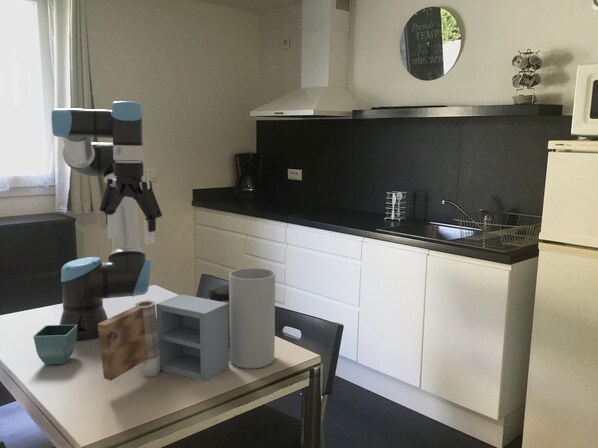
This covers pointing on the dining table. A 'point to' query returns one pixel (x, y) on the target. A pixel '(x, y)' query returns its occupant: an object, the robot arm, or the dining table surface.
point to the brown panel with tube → (128, 339)
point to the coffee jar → (220, 296)
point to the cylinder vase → (252, 317)
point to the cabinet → (191, 338)
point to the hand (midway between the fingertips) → (131, 240)
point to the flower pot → (55, 343)
